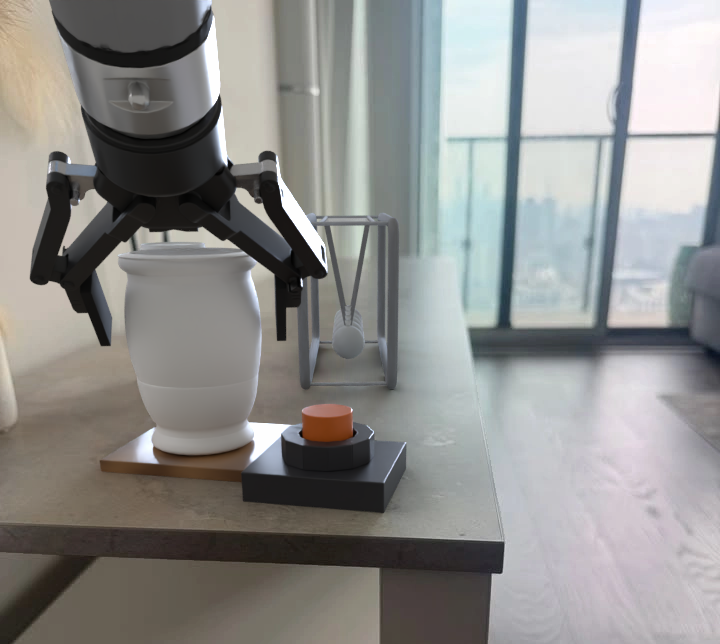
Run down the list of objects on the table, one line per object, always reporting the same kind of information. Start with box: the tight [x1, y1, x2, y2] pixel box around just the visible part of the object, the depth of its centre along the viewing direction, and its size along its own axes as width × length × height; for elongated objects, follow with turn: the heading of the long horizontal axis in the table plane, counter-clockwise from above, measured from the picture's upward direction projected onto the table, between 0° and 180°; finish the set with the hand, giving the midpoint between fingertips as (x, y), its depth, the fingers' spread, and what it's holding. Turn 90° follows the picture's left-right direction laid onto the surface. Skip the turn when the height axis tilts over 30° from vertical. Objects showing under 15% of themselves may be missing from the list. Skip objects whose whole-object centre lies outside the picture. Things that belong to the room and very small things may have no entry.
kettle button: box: [301, 403, 354, 442], centre depth 53 cm, size 4×4×2 cm
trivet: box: [99, 422, 293, 483], centre depth 62 cm, size 12×12×1 cm
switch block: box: [241, 421, 407, 514], centre depth 54 cm, size 10×9×4 cm
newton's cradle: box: [296, 212, 400, 391], centre depth 91 cm, size 30×10×18 cm, turn 1°
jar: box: [117, 247, 263, 455], centre depth 59 cm, size 11×10×15 cm
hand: (194, 329), depth 60 cm, fingers open, 13 cm apart
